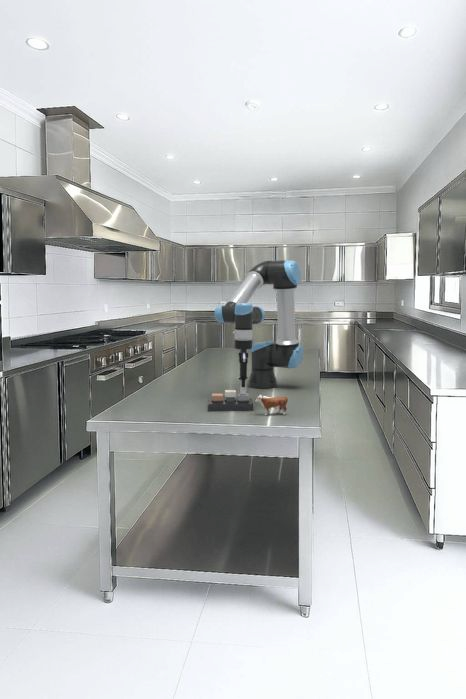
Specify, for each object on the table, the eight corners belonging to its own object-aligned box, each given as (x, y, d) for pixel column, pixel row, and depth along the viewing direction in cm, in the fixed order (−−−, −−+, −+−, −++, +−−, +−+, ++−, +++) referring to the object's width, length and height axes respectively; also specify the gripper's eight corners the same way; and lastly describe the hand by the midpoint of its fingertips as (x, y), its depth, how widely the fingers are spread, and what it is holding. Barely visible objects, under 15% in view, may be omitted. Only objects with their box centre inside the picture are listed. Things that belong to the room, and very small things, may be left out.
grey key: (248, 405, 241) (248, 393, 240) (248, 407, 236) (248, 395, 236) (237, 405, 241) (237, 393, 240) (238, 407, 236) (238, 395, 235)
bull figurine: (254, 413, 229) (254, 394, 228) (286, 412, 230) (287, 393, 229) (255, 415, 224) (256, 396, 223) (288, 415, 225) (288, 395, 224)
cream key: (235, 401, 240) (235, 389, 240) (235, 404, 236) (236, 392, 235) (224, 401, 240) (224, 390, 240) (225, 404, 236) (225, 392, 235)
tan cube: (222, 405, 240) (222, 393, 240) (223, 407, 236) (223, 395, 235) (212, 405, 240) (212, 393, 240) (212, 407, 236) (212, 395, 235)
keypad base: (251, 404, 245) (251, 398, 244) (253, 410, 233) (253, 404, 232) (208, 404, 244) (208, 398, 244) (208, 411, 232) (208, 404, 232)
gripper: (234, 337, 241) (233, 391, 244) (235, 341, 228) (235, 397, 231) (251, 337, 241) (250, 391, 244) (253, 341, 229) (252, 397, 231)
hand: (243, 393), depth 238 cm, fingers closed
